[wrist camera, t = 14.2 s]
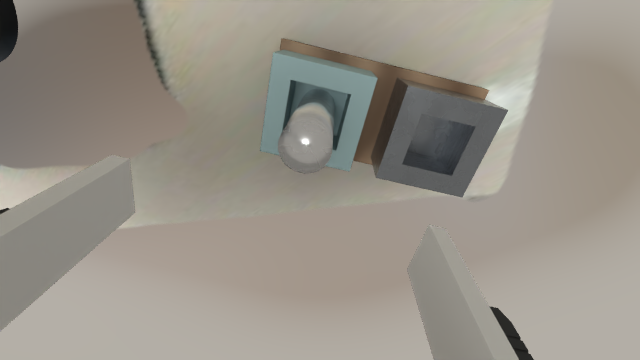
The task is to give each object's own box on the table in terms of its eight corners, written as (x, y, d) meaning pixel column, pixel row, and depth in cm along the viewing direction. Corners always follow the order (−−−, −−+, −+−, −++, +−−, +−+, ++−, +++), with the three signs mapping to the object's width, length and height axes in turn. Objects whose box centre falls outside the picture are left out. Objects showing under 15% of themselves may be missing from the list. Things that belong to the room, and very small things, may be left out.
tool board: (269, 136, 38) (266, 140, 37) (283, 38, 33) (281, 38, 31) (441, 176, 39) (444, 181, 38) (483, 88, 34) (489, 90, 32)
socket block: (370, 156, 37) (375, 177, 31) (396, 77, 32) (408, 85, 27) (444, 174, 37) (462, 197, 32) (480, 98, 33) (508, 110, 27)
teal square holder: (271, 134, 36) (260, 151, 31) (284, 49, 32) (273, 52, 26) (348, 151, 37) (349, 171, 31) (371, 71, 32) (377, 78, 27)
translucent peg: (297, 118, 34) (274, 166, 22) (304, 84, 32) (282, 115, 20) (330, 126, 34) (325, 178, 22) (338, 93, 32) (338, 128, 20)
